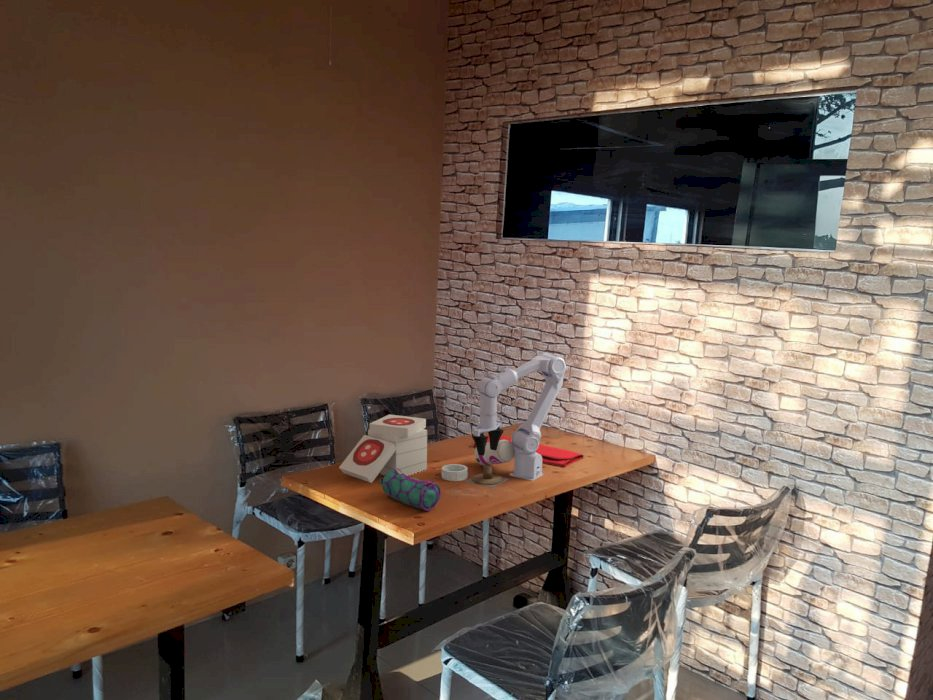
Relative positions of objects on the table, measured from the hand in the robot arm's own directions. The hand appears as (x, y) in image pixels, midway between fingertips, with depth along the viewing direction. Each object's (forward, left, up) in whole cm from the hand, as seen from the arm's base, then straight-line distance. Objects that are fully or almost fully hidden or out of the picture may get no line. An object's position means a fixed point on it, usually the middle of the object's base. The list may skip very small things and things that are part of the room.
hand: (487, 452), depth 249 cm
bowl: (+11, +4, -10) cm, 15 cm away
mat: (0, 0, -10) cm, 10 cm away
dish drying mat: (+6, -38, -11) cm, 40 cm away
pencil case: (+8, +32, -11) cm, 34 cm away
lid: (0, 0, -10) cm, 10 cm away
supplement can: (+12, -14, -6) cm, 20 cm away
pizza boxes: (+33, +15, -11) cm, 37 cm away
